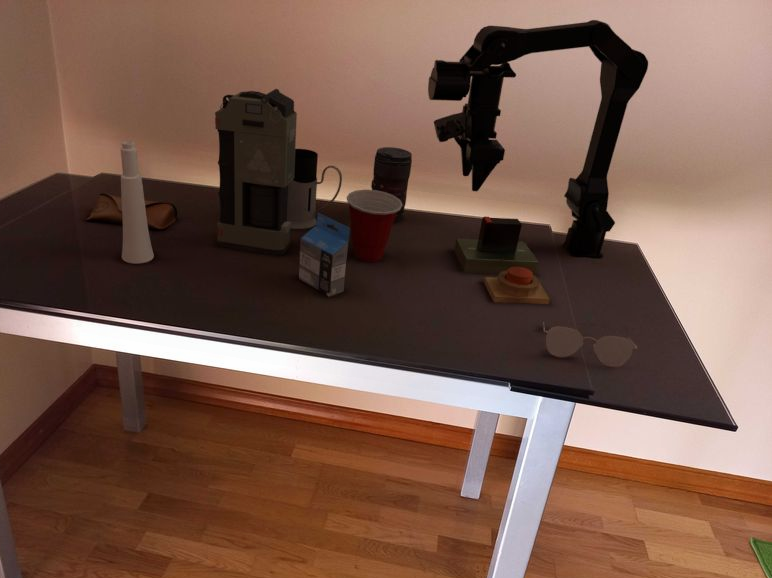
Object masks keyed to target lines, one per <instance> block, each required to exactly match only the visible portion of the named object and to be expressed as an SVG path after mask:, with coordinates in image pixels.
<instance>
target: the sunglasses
mask: <svg viewBox="0 0 772 578" xmlns="http://www.w3.org/2000/svg"><path fill="white" fill-rule="evenodd" d="M542 329H543V333H546V335H545V346H546V350H547V351H548V353H549V354H551V355H552V356H555V357H557V358H568V357H570V356H572V355H573V354H575V353H576V352H577V351H579V350H580V349H581V348H582V347H583V345H584V339H591V340H593V341H595V343H594V344H592V350H593V352H594V353H595V355H596V357H597V359H598V360H599V362H601V364H603V365H604V366H606V367H609V368H619V367H621V366H623V365H625V364H626V363H627V362H628V361H629V360H630V358H631V357H632V354H633V352H634V350H637V349H638V346H637V345H636V344H635V343H634V341H633V340H632V339H631V338H630V337H629V336H627V337H622V336H615V335H604V336H602V337H599V338H598V339H596V338H594V337H590V336H584V337H583V335H582V333H580V332H579V330H576V329H574V328H570V327H566V326H560V325H559V326H553V327H551V328H549V329H548V330H546V329H545V322H544V321H543V323H542Z"/></svg>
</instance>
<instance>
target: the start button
mask: <svg viewBox="0 0 772 578" xmlns="http://www.w3.org/2000/svg"><path fill="white" fill-rule="evenodd" d="M532 275H533V273H532V272H531V271H530V270H529V269H526V268H523V267H511V268H509V269H508V272H507V277H506V280H507V281H509V282H511V283H514V284H518V285H528V284H530V283H531V279H532ZM533 276H534V275H533Z"/></svg>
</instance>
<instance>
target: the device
mask: <svg viewBox="0 0 772 578" xmlns="http://www.w3.org/2000/svg"><path fill="white" fill-rule="evenodd" d="M214 115H215V117H214V124H215V127H214V128H215V130H217V132H218V133H217V134H218V143H219V144H218V146H219V147H218V160H217V165H218V169H219V189H218V190H219V191H218V194H217V195H218V197H219V221H217V223H216V228H217V237H216V241H217V246H218V247H222V248H227V249H235V250H240V251H247V252H253V253H260V254H265V255H271V256H272V255H273V256H282V255H284V254H285V253H286V252H287V251H288V249H289V248H290V244H291V243H290V242H291V229H292V228H291V222H287V204H288V184H289V183H290V182H291V181H292V180H293V179H294V170H295V149H296V140H297V118H298V117H297V116H298V113H297V112H296V111H295V101H294V99H292V98H290V97H289V96H287V95H285V94H284V93H281V91H280V89H278V88H274V89H273V90H271V91H269V92H268V93H263V92H260V91H255V90H249V91H240V92H238V93H236V94H226V95H224V96H223V97H222V103H221V105H220V106H219V110H216V111H215V112H214Z"/></svg>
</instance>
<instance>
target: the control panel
mask: <svg viewBox="0 0 772 578" xmlns="http://www.w3.org/2000/svg"><path fill="white" fill-rule="evenodd" d="M454 244H455V245H454V249H453V250H454V251H453V252H454V255H455V256H456V259H457V261H458V263H459V265H460V267H461V269H462V272H463V273H465V274H466V273H467V274H468V273H469V274H473V273H474V274H490V275H491V274H494V275H499V274H500V272H503V271H507V270H508V269H509V268H511V267H523V268H526V269H529V270H530V271H531V272H532V273H533V276H536V272H537V268H538V264H539V261H538V259H537V257H536V256H535V255H534V253H533V252H532V250H531V249H530V248H529V247H528V245H527V244H526V242H525V241H524V240H518V244H517V249H516V253H501V252H480V250H479V248H478V246H477V244H478V238H477V239H476V238H456V239H455V243H454Z"/></svg>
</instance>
